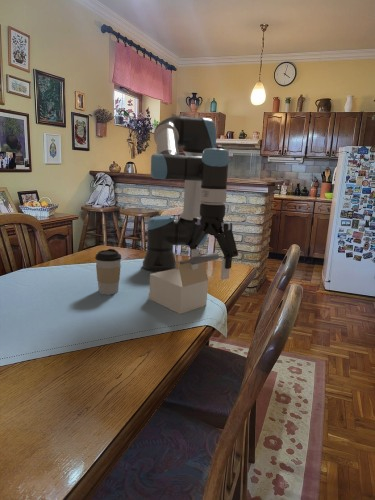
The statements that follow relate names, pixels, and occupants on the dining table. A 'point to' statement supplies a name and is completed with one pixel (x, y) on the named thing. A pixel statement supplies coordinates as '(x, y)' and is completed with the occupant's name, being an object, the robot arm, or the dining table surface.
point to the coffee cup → (108, 271)
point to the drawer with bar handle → (196, 274)
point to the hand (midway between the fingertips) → (208, 273)
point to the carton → (177, 291)
